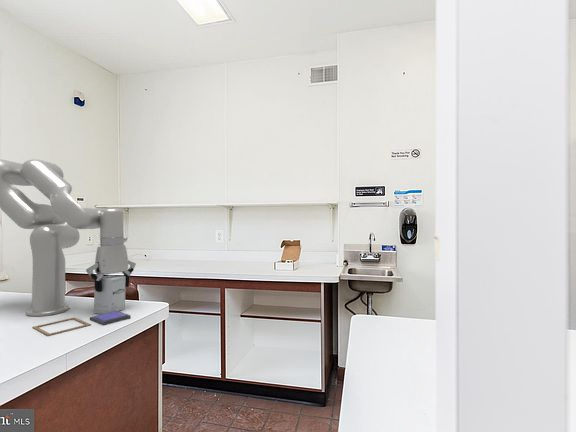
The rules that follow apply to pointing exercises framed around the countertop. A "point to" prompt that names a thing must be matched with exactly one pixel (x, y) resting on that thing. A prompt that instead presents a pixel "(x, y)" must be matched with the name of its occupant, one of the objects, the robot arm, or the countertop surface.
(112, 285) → the supplement box
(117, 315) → the ink pad
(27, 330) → the countertop surface
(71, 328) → the tan picture frame
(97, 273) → the robot arm
